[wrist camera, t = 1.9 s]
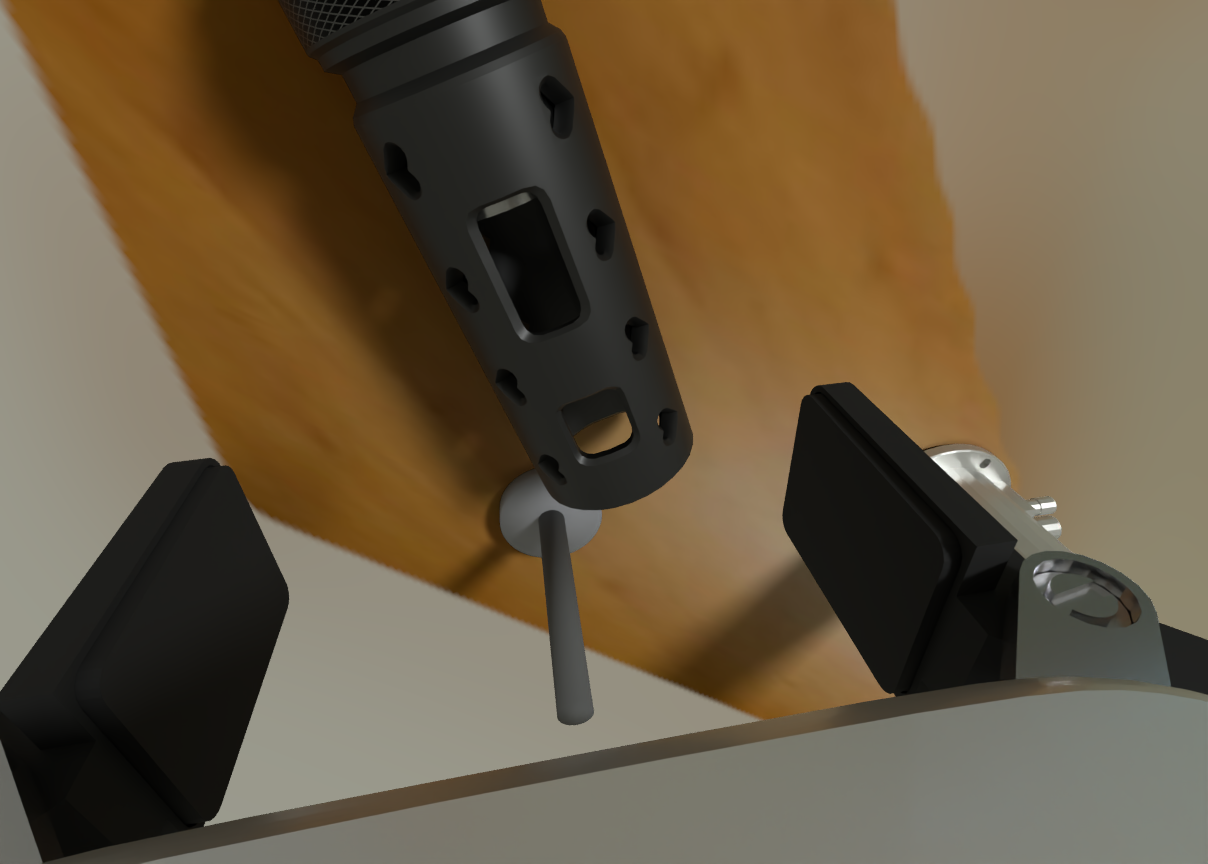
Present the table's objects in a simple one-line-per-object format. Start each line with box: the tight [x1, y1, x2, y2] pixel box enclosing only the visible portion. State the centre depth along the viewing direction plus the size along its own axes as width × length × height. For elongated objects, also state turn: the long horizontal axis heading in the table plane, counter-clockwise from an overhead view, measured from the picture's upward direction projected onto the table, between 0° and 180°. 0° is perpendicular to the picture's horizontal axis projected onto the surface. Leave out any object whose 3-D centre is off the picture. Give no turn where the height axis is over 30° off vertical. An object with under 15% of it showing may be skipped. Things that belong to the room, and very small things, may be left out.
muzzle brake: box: [278, 0, 693, 510], centre depth 27 cm, size 10×28×10 cm, turn 19°
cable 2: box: [500, 469, 602, 725], centre depth 36 cm, size 7×7×16 cm
